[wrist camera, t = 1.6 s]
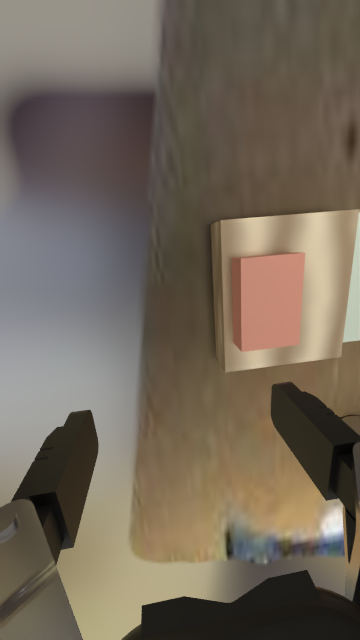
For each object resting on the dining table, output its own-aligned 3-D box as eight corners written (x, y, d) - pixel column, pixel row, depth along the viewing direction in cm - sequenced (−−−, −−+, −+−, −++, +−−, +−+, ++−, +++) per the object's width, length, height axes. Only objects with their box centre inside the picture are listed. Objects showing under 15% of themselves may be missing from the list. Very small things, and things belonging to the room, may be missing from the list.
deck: (330, 215, 27) (359, 209, 23) (318, 344, 32) (340, 356, 28) (210, 224, 26) (220, 220, 22) (216, 357, 31) (225, 372, 27)
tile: (289, 252, 24) (305, 252, 21) (285, 336, 26) (299, 344, 24) (231, 257, 23) (240, 258, 21) (233, 342, 26) (241, 352, 23)
